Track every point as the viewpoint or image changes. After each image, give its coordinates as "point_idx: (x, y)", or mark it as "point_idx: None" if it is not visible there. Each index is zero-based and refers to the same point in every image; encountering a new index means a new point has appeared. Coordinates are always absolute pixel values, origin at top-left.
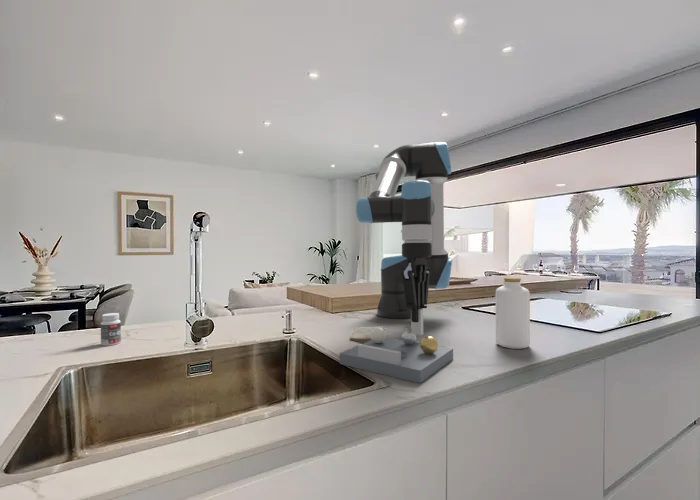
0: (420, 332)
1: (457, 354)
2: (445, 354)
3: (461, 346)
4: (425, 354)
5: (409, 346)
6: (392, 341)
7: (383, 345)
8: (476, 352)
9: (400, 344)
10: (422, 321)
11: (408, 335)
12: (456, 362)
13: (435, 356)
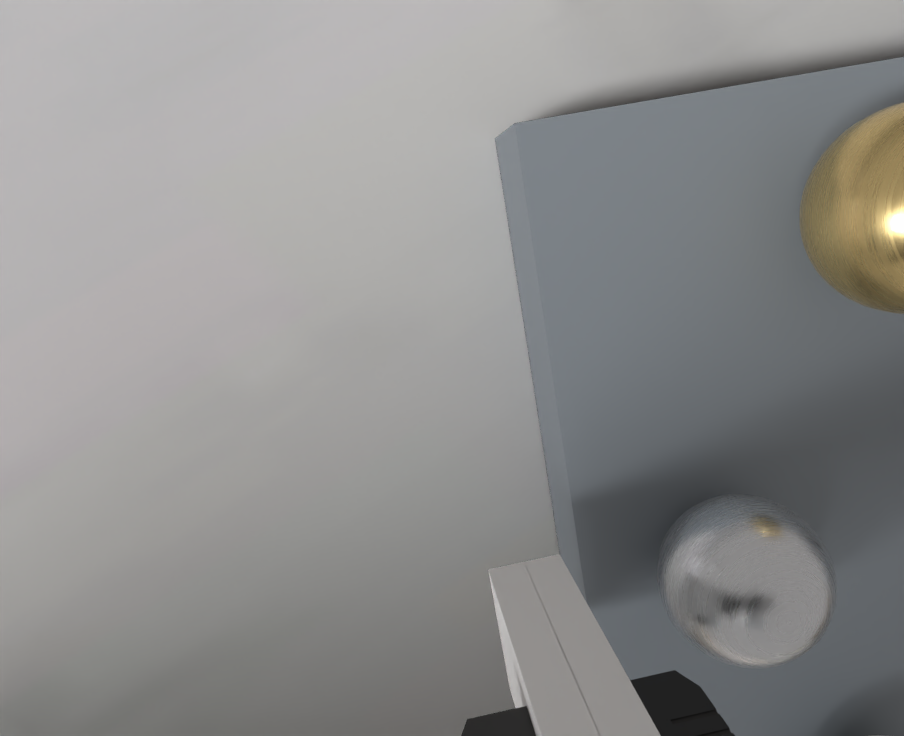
0: (567, 575)
1: (323, 186)
2: (734, 87)
3: (21, 307)
4: None
5: None
6: None
7: (881, 687)
8: (100, 66)
9: None
10: (548, 660)
11: (827, 561)
12: (560, 62)
13: None
